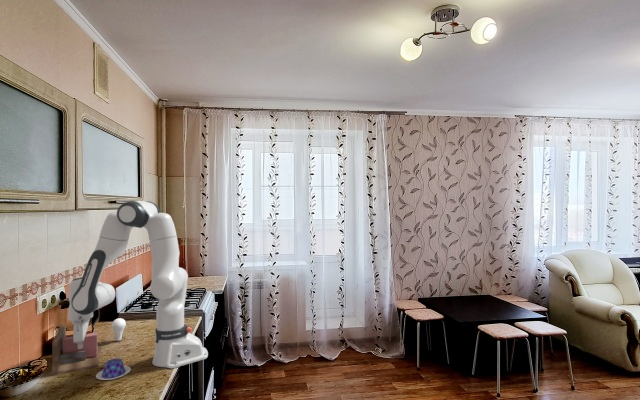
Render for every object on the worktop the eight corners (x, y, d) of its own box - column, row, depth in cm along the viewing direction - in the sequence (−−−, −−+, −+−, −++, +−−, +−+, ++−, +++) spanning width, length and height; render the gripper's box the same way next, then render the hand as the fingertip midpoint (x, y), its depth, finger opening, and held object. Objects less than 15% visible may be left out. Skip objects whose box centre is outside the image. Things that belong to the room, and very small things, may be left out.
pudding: (93, 384, 132) (93, 370, 132) (98, 370, 143) (98, 357, 143) (129, 377, 137) (129, 364, 137) (131, 365, 148) (131, 352, 148)
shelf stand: (101, 348, 165) (101, 320, 165) (98, 366, 146) (98, 335, 146) (59, 355, 157) (59, 326, 157) (50, 376, 138) (50, 342, 138)
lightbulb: (109, 343, 170) (109, 321, 170) (113, 339, 176) (113, 317, 176) (123, 342, 171) (123, 319, 172) (127, 338, 177) (127, 316, 177)
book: (97, 352, 156) (97, 332, 157) (96, 355, 153) (96, 335, 153) (64, 358, 151) (64, 337, 151) (62, 361, 147) (62, 340, 147)
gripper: (87, 319, 145) (87, 353, 144) (91, 307, 162) (91, 337, 162) (68, 322, 141) (68, 356, 141) (75, 309, 159) (75, 339, 159)
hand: (81, 346), depth 152 cm, fingers closed on book, 4 cm apart
